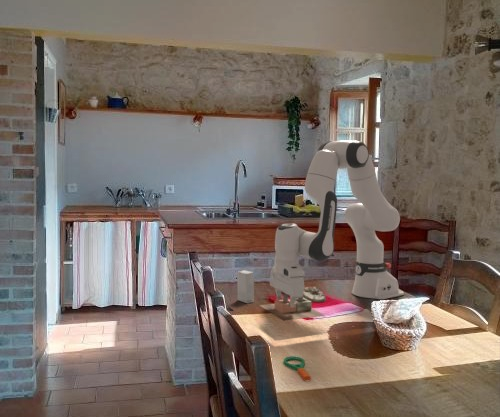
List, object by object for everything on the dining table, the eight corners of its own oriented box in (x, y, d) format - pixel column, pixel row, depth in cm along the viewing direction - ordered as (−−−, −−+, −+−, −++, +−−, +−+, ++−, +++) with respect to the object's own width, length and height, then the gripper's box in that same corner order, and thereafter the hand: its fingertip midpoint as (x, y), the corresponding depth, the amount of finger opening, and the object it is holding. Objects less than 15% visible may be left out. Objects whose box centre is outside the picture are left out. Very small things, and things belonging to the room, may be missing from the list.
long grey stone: (288, 288, 244) (269, 291, 240) (288, 276, 244) (269, 279, 240) (333, 303, 213) (312, 307, 209) (332, 290, 213) (311, 294, 208)
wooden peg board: (297, 304, 212) (298, 286, 211) (324, 319, 194) (325, 299, 193) (259, 309, 205) (259, 290, 204) (283, 324, 187) (284, 303, 186)
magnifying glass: (280, 360, 155) (280, 355, 155) (300, 359, 156) (300, 354, 156) (296, 383, 140) (296, 376, 140) (318, 381, 142) (318, 375, 142)
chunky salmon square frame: (274, 308, 201) (274, 300, 200) (288, 306, 203) (288, 299, 203) (282, 312, 195) (282, 305, 195) (296, 311, 198) (296, 303, 197)
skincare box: (254, 302, 215) (255, 272, 213) (246, 303, 212) (246, 273, 210) (245, 298, 219) (245, 269, 218) (236, 300, 216) (236, 271, 215)
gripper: (266, 262, 206) (265, 297, 207) (291, 273, 187) (291, 312, 189) (280, 261, 208) (280, 295, 210) (307, 272, 190) (306, 310, 191)
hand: (285, 303), depth 199 cm, fingers open, 8 cm apart
